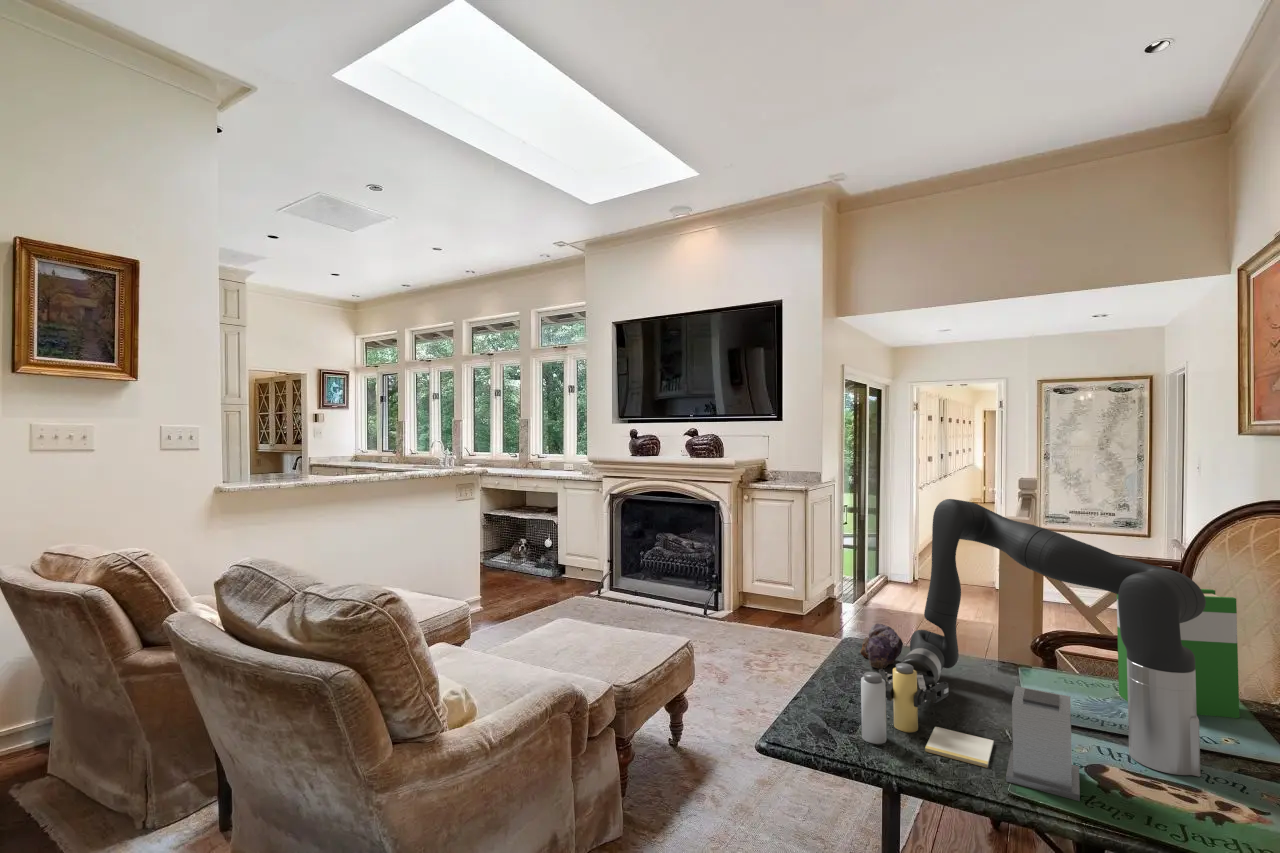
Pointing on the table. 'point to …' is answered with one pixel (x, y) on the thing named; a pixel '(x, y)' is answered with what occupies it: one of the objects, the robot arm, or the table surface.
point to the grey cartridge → (873, 708)
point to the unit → (1042, 743)
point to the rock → (881, 646)
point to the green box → (1205, 656)
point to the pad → (960, 746)
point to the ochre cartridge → (905, 698)
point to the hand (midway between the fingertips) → (902, 698)
